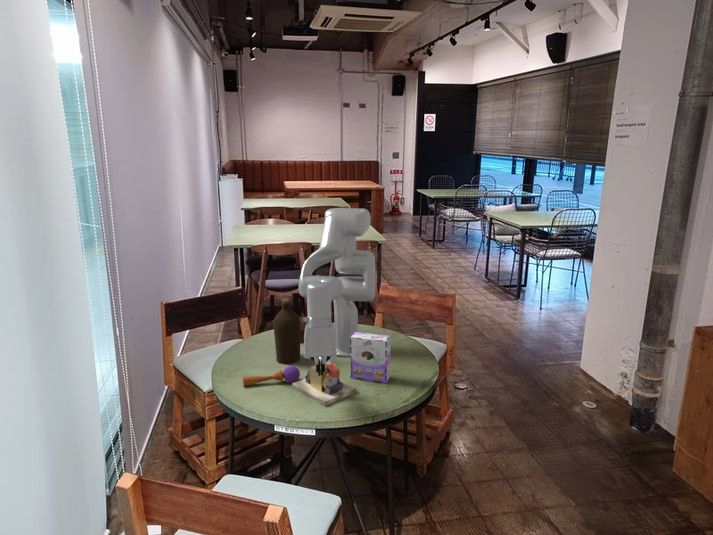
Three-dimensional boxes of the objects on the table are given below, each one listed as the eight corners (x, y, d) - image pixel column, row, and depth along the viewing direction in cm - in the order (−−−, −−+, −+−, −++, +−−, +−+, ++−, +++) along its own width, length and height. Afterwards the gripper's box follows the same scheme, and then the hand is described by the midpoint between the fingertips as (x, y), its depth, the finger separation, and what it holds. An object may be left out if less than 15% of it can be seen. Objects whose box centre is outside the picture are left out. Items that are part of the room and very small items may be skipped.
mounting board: (322, 374, 182) (322, 371, 182) (356, 391, 169) (356, 387, 169) (292, 387, 173) (292, 383, 172) (325, 406, 160) (325, 402, 160)
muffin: (300, 346, 207) (300, 324, 205) (285, 339, 215) (284, 318, 213) (322, 339, 215) (322, 318, 213) (307, 332, 223) (306, 311, 221)
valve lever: (317, 364, 170) (317, 353, 169) (326, 363, 171) (326, 351, 170) (330, 383, 157) (330, 370, 156) (340, 381, 158) (340, 368, 157)
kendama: (242, 371, 177) (298, 362, 180) (245, 387, 177) (300, 378, 180) (241, 376, 171) (299, 366, 174) (244, 392, 171) (301, 383, 174)
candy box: (390, 377, 180) (391, 335, 176) (386, 384, 175) (386, 341, 171) (355, 371, 184) (355, 330, 180) (350, 378, 179) (349, 336, 175)
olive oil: (294, 366, 189) (292, 305, 183) (270, 362, 192) (266, 302, 186) (306, 355, 199) (304, 296, 193) (282, 352, 202) (280, 294, 196)
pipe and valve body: (319, 376, 178) (319, 358, 176) (343, 388, 168) (343, 369, 167) (304, 382, 173) (303, 364, 171) (328, 395, 164) (327, 376, 162)
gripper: (295, 325, 152) (297, 379, 156) (343, 324, 152) (344, 378, 157) (296, 317, 159) (298, 369, 163) (342, 316, 160) (343, 368, 164)
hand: (320, 373), depth 160 cm, fingers closed
